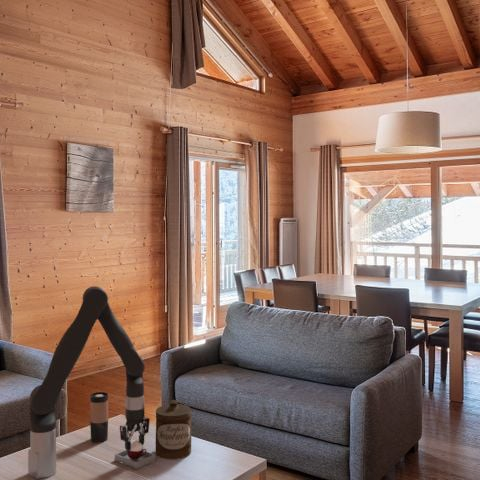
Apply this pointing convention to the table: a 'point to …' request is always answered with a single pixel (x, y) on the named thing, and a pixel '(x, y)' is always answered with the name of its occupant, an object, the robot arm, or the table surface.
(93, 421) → the travel mug
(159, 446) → the labeled brown tin
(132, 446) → the cocoa
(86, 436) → the table surface
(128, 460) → the tray
